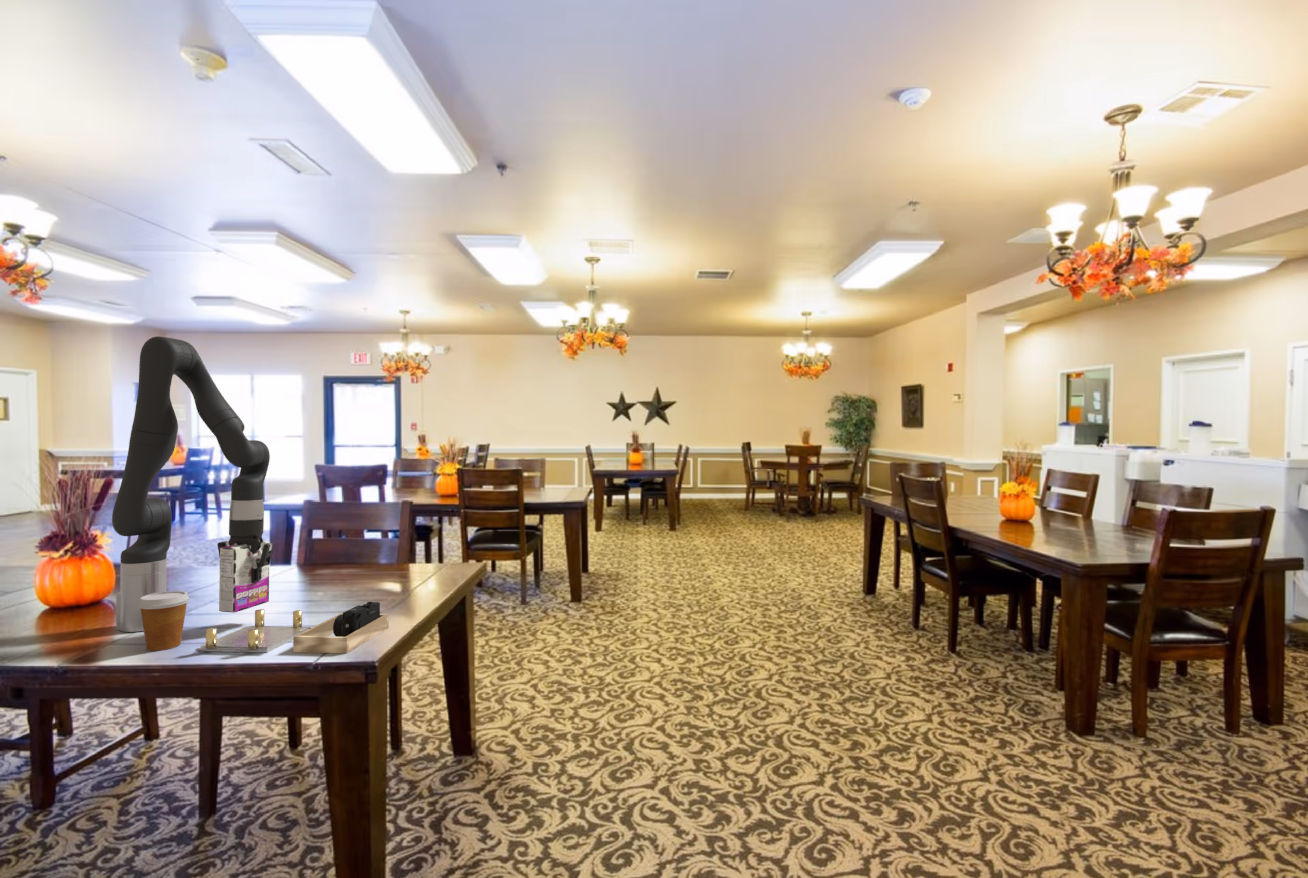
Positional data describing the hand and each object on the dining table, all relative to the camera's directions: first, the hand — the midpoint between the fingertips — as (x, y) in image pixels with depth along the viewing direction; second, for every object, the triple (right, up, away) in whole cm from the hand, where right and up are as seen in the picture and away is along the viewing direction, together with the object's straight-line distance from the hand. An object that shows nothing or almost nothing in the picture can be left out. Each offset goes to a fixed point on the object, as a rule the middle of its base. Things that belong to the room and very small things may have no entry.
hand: (244, 581), depth 162 cm
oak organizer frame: (+31, -12, -10) cm, 34 cm away
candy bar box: (0, -7, 0) cm, 7 cm away
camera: (+33, -12, -8) cm, 36 cm away
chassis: (+11, -12, -12) cm, 20 cm away
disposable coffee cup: (-9, -12, -16) cm, 22 cm away
